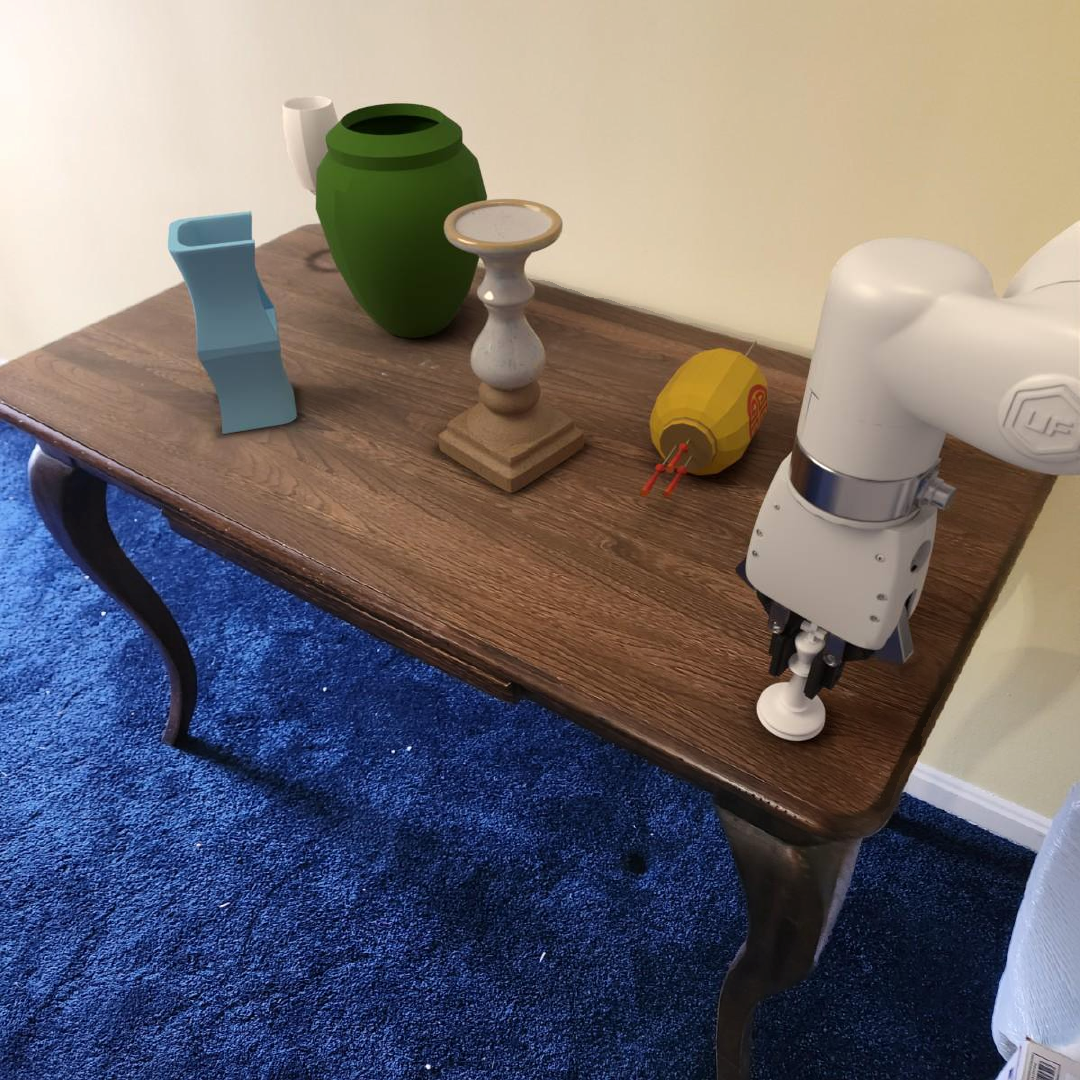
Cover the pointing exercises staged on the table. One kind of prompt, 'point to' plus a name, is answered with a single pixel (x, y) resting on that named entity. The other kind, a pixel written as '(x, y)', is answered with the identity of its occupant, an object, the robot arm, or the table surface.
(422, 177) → the vase
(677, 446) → the lantern
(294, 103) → the cup
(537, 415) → the candle holder
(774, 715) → the chess piece
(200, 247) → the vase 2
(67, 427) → the table surface
